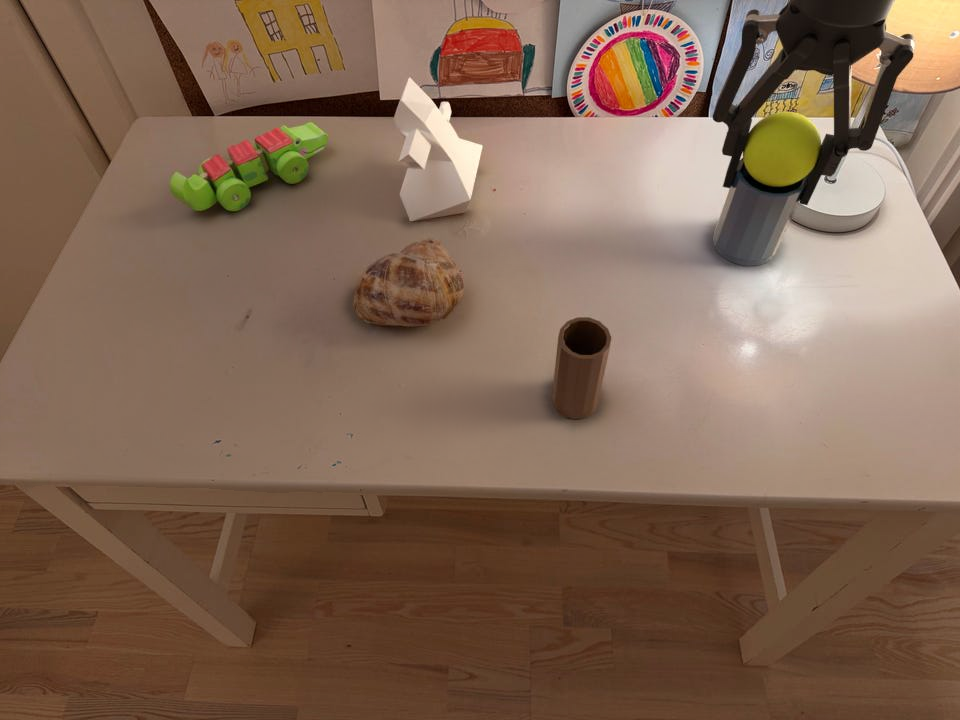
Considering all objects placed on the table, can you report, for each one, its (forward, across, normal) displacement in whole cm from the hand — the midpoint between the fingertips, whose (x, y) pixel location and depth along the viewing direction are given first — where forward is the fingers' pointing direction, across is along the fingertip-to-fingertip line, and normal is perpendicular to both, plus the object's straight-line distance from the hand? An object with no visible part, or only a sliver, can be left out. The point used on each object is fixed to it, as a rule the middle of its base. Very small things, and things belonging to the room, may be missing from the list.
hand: (766, 187), depth 72 cm
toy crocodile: (+8, +58, +9) cm, 59 cm away
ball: (-5, 0, 0) cm, 5 cm away
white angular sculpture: (+8, +35, +3) cm, 36 cm away
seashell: (+8, +32, +21) cm, 39 cm away
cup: (+8, 0, 0) cm, 8 cm away
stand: (+8, +12, +26) cm, 30 cm away
